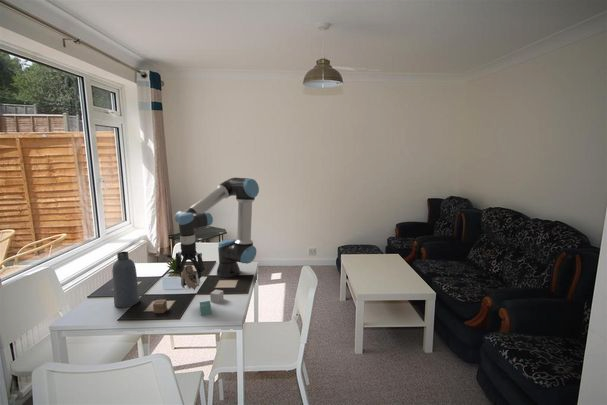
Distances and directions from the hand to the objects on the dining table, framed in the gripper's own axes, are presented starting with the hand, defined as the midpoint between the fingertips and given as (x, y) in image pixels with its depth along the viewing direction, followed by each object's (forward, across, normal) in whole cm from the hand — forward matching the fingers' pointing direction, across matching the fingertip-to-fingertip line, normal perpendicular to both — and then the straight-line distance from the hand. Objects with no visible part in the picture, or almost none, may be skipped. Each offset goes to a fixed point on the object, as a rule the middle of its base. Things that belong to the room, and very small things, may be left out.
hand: (191, 283), depth 175 cm
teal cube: (+12, +12, -9) cm, 19 cm away
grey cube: (+12, +12, +5) cm, 17 cm away
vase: (+11, -35, -6) cm, 37 cm away
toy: (+3, 0, 0) cm, 3 cm away
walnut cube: (+11, -12, -11) cm, 20 cm away
